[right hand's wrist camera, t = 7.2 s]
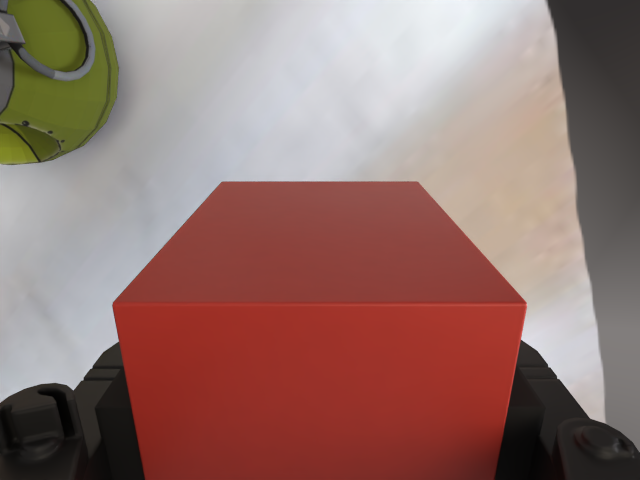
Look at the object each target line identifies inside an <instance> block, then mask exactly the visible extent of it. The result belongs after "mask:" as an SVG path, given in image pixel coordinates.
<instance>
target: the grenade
mask: <svg viewBox="0 0 640 480" xmlns="http://www.w3.org/2000/svg"><path fill="white" fill-rule="evenodd" d="M118 72H119V67H118V62H117V58H116V53H115V49H114V44H113V40H112V36H111V34H110V32H109V31H108V29H107V27H106V25H105V23H104V21H103V19H102V17H101V16H100V14H99V12H98V10H97V8H96V6H95V5H94V4H93V3H92V2H91V1H90V0H0V164H6V165H17V164H29V163H40V162H45V161H49V160H54V159H56V158H58V157H60V156H62V155H64V154H66V153H69V152H71V151H73V150H75V149H77V148H80V147H82V146H84V145H85V144H86V143H87V142H88V141H89V140H90V139H91V138H92V137H93V135H94V134H95V133H96V132H97V131H98V130H99V129H100V128H101V127H102V126H103V125H104V124H105V123H106V121H107V119H108V116H109V114H110V112H111V109H112V107H113V105H114V102H115V100H116V98H117V85H118Z"/></svg>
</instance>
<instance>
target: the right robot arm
mask: <svg viewBox="0 0 640 480" xmlns="http://www.w3.org/2000/svg"><path fill="white" fill-rule="evenodd" d="M0 480H145V477H144V472H143V466H142V461H141V456H140V450H139V445H138V440H137V434H136V429H135V424H134V418H133V413H132V408H131V402H130V397H129V392H128V386H127V381H126V376H125V370H124V365H123V360H122V354H121V349H120V344H119V342H118V343H116V344H115V345H113V346H112V347H110V348H109V349H108V350H106V351H105V352H103V353H102V355H101V356H100V357H99V359H98V360H97V361H96V363H95V364H94V365H93V368H92V369H90V370H89V372H88V373H87V374H86V375H85V377H84V380H83V381H81V382H80V383H79V384H78V386H77V387H76V388H75V390H74V391H73V390H72V389H71V388H69V387H68V386H67V385H63V384H58V383H50V384H40V385H37V386H33V387H30V388H26V389H23V390H21V391H19V392H17V393H15V394H13V395H11V396H9V397H8V398H6V399H5V400H4V401H2V402H1V403H0ZM495 480H640V452H639V451H638V450H637V448H636V447H635V445H634V444H633V442H632V441H630V440H629V439H628V438H627V437H626V436H625V435H623V434H622V433H621V432H620V431H618V430H616V429H614V428H612V427H610V426H609V425H607V424H605V423H602V422H598V421H595V420H592V419H590V418H589V417H588V415H587V414H586V413H585V412H584V410H583V409H582V408H581V406H580V405H579V404H578V403H577V401H576V400H575V399H574V397H573V396H572V395H571V394H570V392H569V391H568V390H567V388H566V387H565V386H564V385H563V383H562V382H561V381H560V380H559V379H557V376H556V374H555V373H554V372H553V371H552V369H551V368H548V364H547V363H546V362H545V360H544V359H543V358H542V356H541V355H540V354H539V353H538V351H537V350H535V349H534V348H532V347H531V346H529V345H528V344H526V343H525V342H523V341H522V340H521V341H520V346H519V352H518V357H517V362H516V368H515V373H514V378H513V384H512V389H511V394H510V400H509V405H508V410H507V416H506V421H505V426H504V432H503V437H502V442H501V448H500V453H499V459H498V464H497V469H496V475H495Z"/></svg>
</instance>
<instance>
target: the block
mask: <svg viewBox="0 0 640 480" xmlns="http://www.w3.org/2000/svg"><path fill="white" fill-rule="evenodd" d="M112 306H113V312H114V317H115V322H116V328H117V333H118V338H119V344H120V349H121V354H122V360H123V365H124V370H125V376H126V381H127V386H128V392H129V397H130V402H131V408H132V413H133V418H134V424H135V429H136V434H137V440H138V445H139V450H140V456H141V461H142V466H143V472H144V477H145V480H495V475H496V469H497V464H498V459H499V453H500V448H501V442H502V437H503V432H504V426H505V421H506V416H507V410H508V405H509V400H510V394H511V389H512V384H513V378H514V373H515V368H516V362H517V357H518V352H519V346H520V341H521V336H522V330H523V325H524V319H525V314H526V309H527V303H526V302H525V300H524V299H523V298H522V297H521V296H520V295H519V294H518V293H517V292H516V290H515V289H514V288H513V287H512V286H511V285H510V284H509V283H508V281H507V280H506V279H505V278H504V277H503V276H502V275H501V274H500V273H499V271H498V270H497V269H496V268H495V267H494V266H493V265H492V264H491V263H490V261H489V260H488V259H487V258H486V257H485V256H484V255H483V254H482V253H481V251H480V250H479V249H478V248H477V247H476V246H475V245H474V244H473V243H472V241H471V240H470V239H469V238H468V237H467V236H466V235H465V234H464V233H463V231H462V230H461V229H460V228H459V227H458V226H457V225H456V224H455V223H454V221H453V220H452V219H451V218H450V217H449V216H448V215H447V214H446V213H445V211H444V210H443V209H442V208H441V207H440V206H439V205H438V204H437V203H436V201H435V200H434V199H433V198H432V197H431V196H430V195H429V194H428V193H427V191H426V190H425V189H424V188H423V187H422V186H421V185H420V184H419V182H221V183H220V184H219V185H218V187H217V188H216V189H215V190H214V191H213V192H212V193H211V194H210V195H209V197H208V198H207V199H206V200H205V201H204V202H203V203H202V204H201V205H200V207H199V208H198V209H197V210H196V211H195V212H194V213H193V214H192V215H191V217H190V218H189V219H188V220H187V221H186V222H185V223H184V224H183V225H182V227H181V228H180V229H179V230H178V231H177V232H176V233H175V234H174V235H173V237H172V238H171V239H170V240H169V241H168V242H167V243H166V244H165V245H164V247H163V248H162V249H161V250H160V251H159V252H158V253H157V254H156V255H155V257H154V258H153V259H152V260H151V261H150V262H149V263H148V264H147V265H146V266H145V268H144V269H143V270H142V271H141V272H140V273H139V274H138V275H137V276H136V278H135V279H134V280H133V281H132V282H131V283H130V284H129V285H128V286H127V288H126V289H125V290H124V291H123V292H122V293H121V294H120V295H119V296H118V298H117V299H116V300H115V301H114V302H113V305H112Z"/></svg>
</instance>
